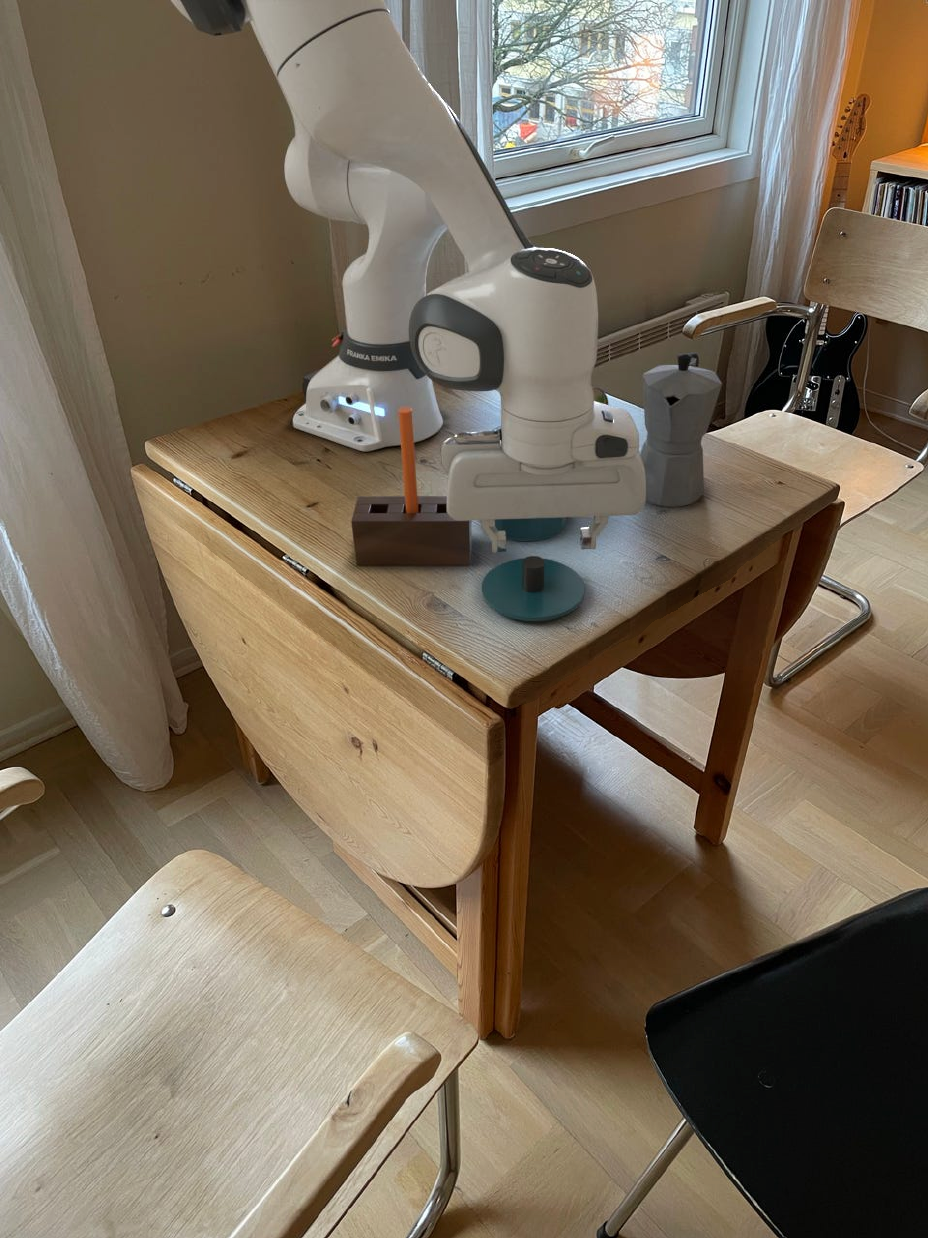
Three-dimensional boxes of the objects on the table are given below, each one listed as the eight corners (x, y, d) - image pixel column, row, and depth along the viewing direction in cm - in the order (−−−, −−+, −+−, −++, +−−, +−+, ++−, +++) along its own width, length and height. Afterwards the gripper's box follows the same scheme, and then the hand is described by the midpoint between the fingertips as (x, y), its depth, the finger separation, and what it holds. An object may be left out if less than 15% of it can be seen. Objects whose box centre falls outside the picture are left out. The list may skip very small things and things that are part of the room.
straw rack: (362, 539, 107) (357, 496, 104) (471, 539, 107) (470, 495, 103) (356, 565, 103) (351, 521, 99) (470, 565, 102) (469, 521, 99)
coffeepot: (695, 521, 109) (717, 380, 98) (619, 508, 111) (632, 370, 100) (715, 464, 120) (736, 332, 109) (645, 454, 123) (660, 324, 112)
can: (470, 530, 108) (468, 451, 102) (503, 492, 115) (504, 416, 109) (548, 549, 105) (551, 468, 98) (578, 508, 112) (582, 430, 105)
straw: (407, 554, 105) (396, 411, 94) (412, 548, 106) (402, 406, 95) (417, 556, 104) (407, 413, 93) (423, 550, 105) (414, 408, 94)
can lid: (522, 639, 91) (523, 605, 89) (462, 587, 99) (460, 555, 96) (605, 601, 96) (608, 568, 94) (541, 554, 104) (542, 523, 101)
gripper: (438, 448, 84) (445, 567, 92) (656, 440, 84) (642, 561, 92) (439, 418, 89) (446, 534, 97) (645, 411, 88) (633, 528, 97)
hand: (543, 547), depth 95 cm, fingers open, 8 cm apart
